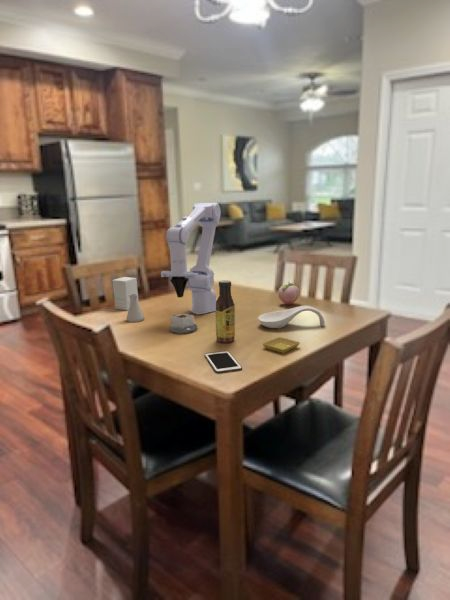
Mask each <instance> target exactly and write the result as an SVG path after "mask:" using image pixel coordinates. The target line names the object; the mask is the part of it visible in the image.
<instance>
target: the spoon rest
mask: <svg viewBox="0 0 450 600" xmlns="http://www.w3.org/2000/svg"><path fill="white" fill-rule="evenodd" d="M307 311H309V312H312V313H314V314H316V315H317V316H318V318H319V324H320V326H321V327H323V326H324V327H325V325H326V323H325V319H324V316H323V315H322V312H321V311H320V310H319V309H317V308H315V307H313V306H310V305H300V306H295V307H292V308H288V309H284V310H278V311H269V312H265V313H262V314H259V316H258V317H257V321H258V322H259V323H260V324H261V325H262V326H264V327H265V328H268V329H273V328H278V329H283V328H285V326H287V325H288V324H289V323H290V322H291V321H292V320H293V319H294V318H295V317H296V316H298V315H299V314H300V313H302V312H307ZM282 327H283V328H282Z"/></svg>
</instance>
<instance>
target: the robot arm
mask: <svg viewBox="0 0 450 600" xmlns="http://www.w3.org/2000/svg"><path fill="white" fill-rule="evenodd" d="M192 206H193V207H192V211H191V212H190V214H189V215H188V216H182V217H181V220H180V221H178V223H176V225H174V227H173V226H172V227H169V228H168V229H167V231H166V233H165V234H166V235H165V239H166V242H167V245H168V249H169V253H170V254H169V255H170V270H162V271H160V275H161V276H160V277H161V278H165V277H166V278H170V280H169V281H170V283H171V284H172V286H173V288H174V290H175V293H176V296H177V298H181V299H182V298H183V297H184V295H185V290H186V286H187V287H188V289H189V290H190V291H191V300H192V302H191V305H192V308H190V309H188V310H187V311H189V312H191V313H193V314H196V315H199V316H200V315H204V314H207V313H213V312H216V301H217V294H216V293H217V292H216V291H215V289H213V287H214V286H215V285H214V283H215V281H214V280H215V278H214V277H215V273H214V271H213V269H211V267H210V263H211V256H212V251H213V244H214V240H215V234H216V227H218V226H219V224H220V219H221V213H222V211H221V206H220V205H219V203H218V202H195V204H194V205H192ZM196 224H198V226H201V228H202V233H201V237H200V243H199V248H198V253H197V259H196V264H195V265H193V266H192V267H191V268H190V269H189V271H188V267H187V266H188V265H187V264H188V262H187V251H186V250H187V247H186V246H187V245H186V244H187V243H188V241H189V238H190V234H191V233H192V232H193V231H194V230H195V228H196Z"/></svg>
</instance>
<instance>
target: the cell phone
mask: <svg viewBox="0 0 450 600" xmlns="http://www.w3.org/2000/svg"><path fill="white" fill-rule="evenodd" d="M204 359H206V360H207V362H208V364H209V366H211V368H212V370H213V371H214V373H215V374H223V373H229V372H230V373H231V372H239V371H243V367H242V365H241V364H240V363H239V361H237V359H236V358H235V356H233V355H232V354H231V352H230V351H229V350H221V351H214V352H206V353H204Z"/></svg>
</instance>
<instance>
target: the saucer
mask: <svg viewBox="0 0 450 600" xmlns="http://www.w3.org/2000/svg"><path fill="white" fill-rule="evenodd" d="M280 343H281V344H280ZM300 343H301V342H299V341H297V340H293V339H288V338H286V337H285V338H284V337H280V336H279V337H275V338H273V339H271V340H268V341H266V342H262V346H263V347H264V348H265V349H266V350H270V351H274V352H276V351H277V353H280V352H281V354H285V353H288V352H289V350H290V351H292V350H294V349H296V348H297V347H298V346H299V345H300ZM287 345H289V346H290V347H289V346H287ZM293 348H294V349H293ZM291 349H292V350H291Z"/></svg>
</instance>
